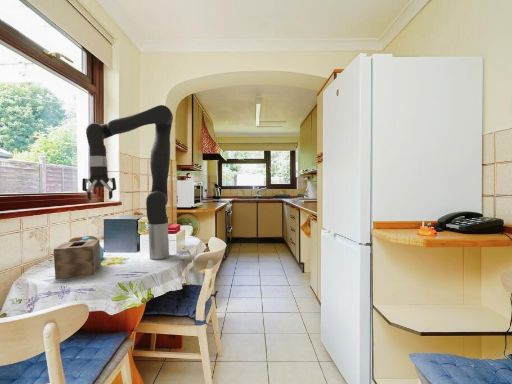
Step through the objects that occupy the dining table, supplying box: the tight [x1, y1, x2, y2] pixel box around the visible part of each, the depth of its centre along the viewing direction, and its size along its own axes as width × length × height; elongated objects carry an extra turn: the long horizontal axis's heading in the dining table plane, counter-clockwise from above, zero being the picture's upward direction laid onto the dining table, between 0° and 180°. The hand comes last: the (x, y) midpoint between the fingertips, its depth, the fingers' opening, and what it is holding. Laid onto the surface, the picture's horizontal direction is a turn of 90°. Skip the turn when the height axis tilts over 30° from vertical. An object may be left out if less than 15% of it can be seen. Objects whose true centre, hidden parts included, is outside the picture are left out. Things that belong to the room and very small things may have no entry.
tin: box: [68, 235, 99, 242], centre depth 161 cm, size 15×3×8 cm, turn 114°
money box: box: [53, 239, 101, 279], centre depth 125 cm, size 14×14×12 cm
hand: (100, 199), depth 139 cm, fingers open, 8 cm apart
